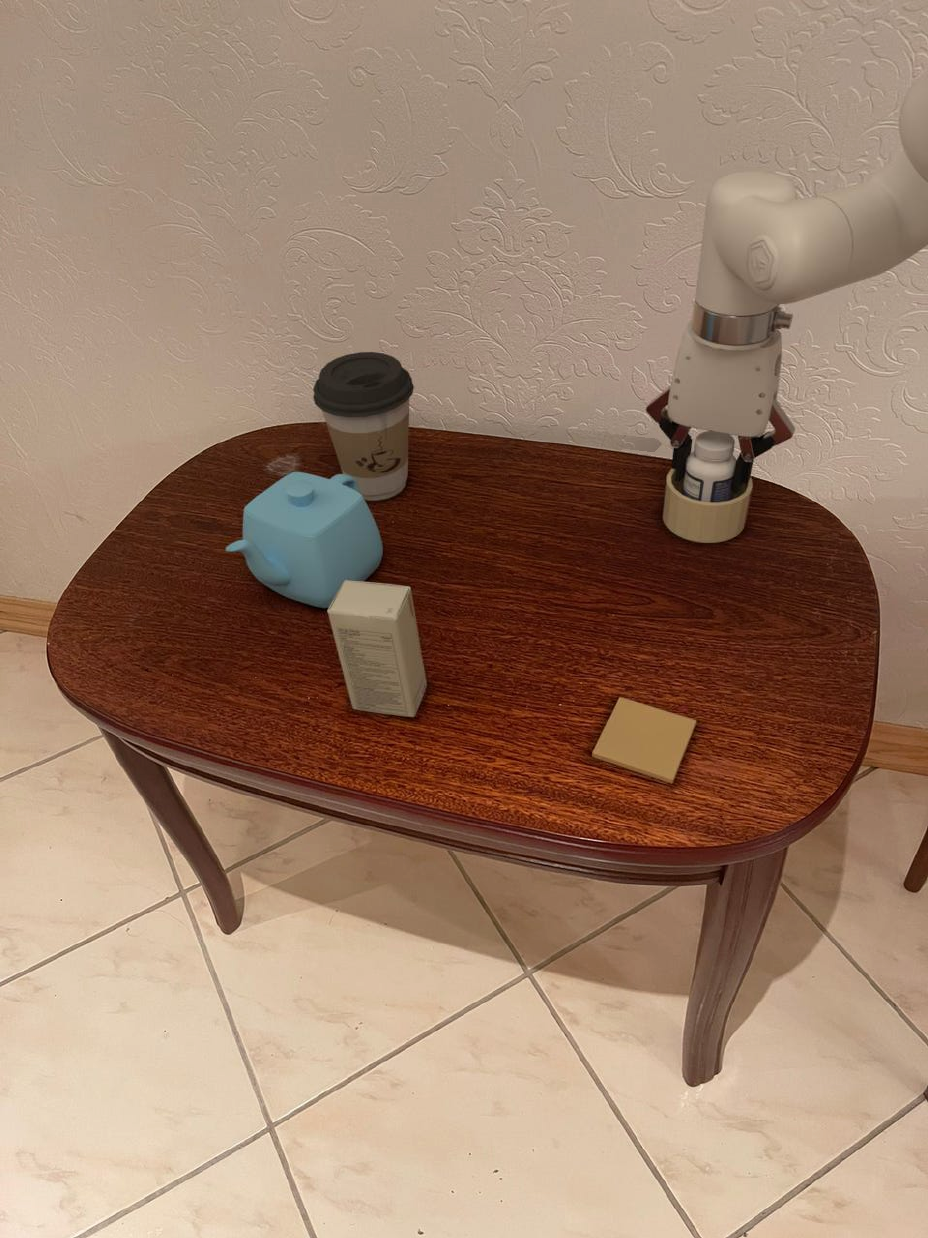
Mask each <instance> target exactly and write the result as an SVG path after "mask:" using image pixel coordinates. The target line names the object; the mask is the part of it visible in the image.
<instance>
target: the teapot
mask: <svg viewBox="0 0 928 1238" xmlns="http://www.w3.org/2000/svg"><path fill="white" fill-rule="evenodd" d="M225 551H226V552H231V553H234V552H235V553H236V552H237V553H240V554H242V555H243V556H244V558H245V561H246V565H247V568H248V570H249V571H250V572H251V573H252V575H253V576H254V578H256V579H257V580H258V581H259V582H260V583H261V584H263V585H264V586H266V587H268V588H269V589H271V590H272V591H274V592H275V593H278V594H279V595H280V596H283V597H285V598H287V599H290V600H293V601H296V602H299V603H302V604H305V605H309V606H312V607H316V608H322V609H328V608H329V607H330V605H331V603H332V601H333V600H334V598H335V596H336V594H337V593H338V591H339V589H340V588H341V586H342V584H343V583H344V581H345V580H348V581H362V582H366V580H367V579H368V578H369V577H370V576H371V575H372V574H373V573H374V572H375V571H376V570H377V569H378V567H379V566H380V564H381V562H382V559H383V558H382V557H383V553H384V552H383V551H384V547H383V541H382V538H381V534H380V531H379V527H378V525H377V522H376V519H375V518H374V515H373V514H372V511H371V509H370V508H369V506H368V503H367V502H366V500H364V498H363V496H362V495H361V494H360V493H358V485H357V482H356V480H355V479H354V478H353V477H351V476H349V475H346V474H343V473H338V474H335V475H333V476H332V477H331V478H327V477H323V476H320V475H317V474H312V473H308V472H302V471H293V472H290V473H288V474H287V475H285V476H283V477H282V478H281V479H279V480H277V481H276V482H275V483H273V484H272V485H271V486H269V487H268V488H267V489H265V490H264V491H263V492H261V493H260V494H259V495H257V496H256V497H255V498H253V499H252V500H251V501H250V502H249V503H248V504H246V505H245V506H244V508H243V516H242V539H239V540H236V541H234V542H231V543H230V544H228V545H227V546H226V547H225Z"/></svg>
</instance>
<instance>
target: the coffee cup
mask: <svg viewBox="0 0 928 1238" xmlns="http://www.w3.org/2000/svg"><path fill="white" fill-rule="evenodd" d="M414 388H415V386H414V384H413V379H412V377H411V374H410V373H409V371H408V370H407V369H406V368H404V367H403V365H402V364H401V361H400V360H398V359H397V358H396V357H394V356H392V355H389V354H386V353H383V352H376V351H359V352H354V353H348V354H345V355H342V356H339V357H336V358H334V359H333V360H331V361H329V362H327V363H326V364H325V365H324V366H322V368H321V369H320V372H319V374H318V379H317V380H315V383H314V386H313V389H312V391H313V402H314V405H315V406H316V407H317V408H319V409H320V411H321V412H322V415H323V418H324V421H325V424H326V427H327V430H328V433H329V437H330V440H331V442H332V446H333V448H334V451H335V454H336V457H337V460H338V464H339V466H340V469H341V472H342V474H346V475H349V476H351V477H353V478H354V479H355V480H356V482H357V485H358V493H360V494H361V495H362V496H363V498H364V500H365V501H370V502H371V501H373V502H374V501H383V500H387V499H390V498H392V497H395V496H397V495H399V494H400V493H401V492H403V491H404V489H405V487H406V484H407V479H408V475H409V473H408V472H409V436H410V435H409V433H410V398H411V396H413V393H414Z"/></svg>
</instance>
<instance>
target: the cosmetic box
mask: <svg viewBox="0 0 928 1238" xmlns="http://www.w3.org/2000/svg"><path fill="white" fill-rule="evenodd" d="M326 612H327V615H328V619H329V623H330V626H331V630H332V634H333V638H334V639H333V640H334V642H335V646H336V650H337V654H338V657H339V662H340V665H341V670H342V673H343V677H344V680H345V686H346V689H347V693H348V697H349V700H350V705H351V708H352V709H353V710H357V711H361V712H369V713H375V714H376V713H377V714H384V715H391V716H399V717H408V718H415V717H416V714H417V713H418V710H419V708H420V704H421V703H422V700H423V698H424V695H425V692H426V689H427V686H428V683H427V678H426V671H425V666H424V660H423V653H422V647H421V641H420V636H419V629H418V622H417V618H416V611H415V607H414V601H413V595H412V587H410V586H407V585H400V584H392V583H381V582H373V581H372V582H371V581H364V582H362V581H348V580H345V581H344V583H343V584H342V586H341V588H340V589H339V591H338V593H337V594H336V596H335V598H334V600H333V601H332V603H331V605H330V607H329V608H327V611H326Z"/></svg>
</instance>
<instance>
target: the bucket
mask: <svg viewBox="0 0 928 1238" xmlns="http://www.w3.org/2000/svg"><path fill="white" fill-rule="evenodd" d="M675 473H676V469H672V468H671V469H669V471H668V473H667V475H666V479H665V489H664V497H663V505H662V506H663V507H662V521H663V523H664V525H665V526H666V528H667V529H668V530H669V531H670V532H671V533H673V534H674V535H676V536H678V537H680V538H682V539H684V540H688V541H689V542H690V541H691V542H696V543H702V544H714V543H722V542H726V541H729V540H731V539H733V538H735V537H737V536H738V535H740V534H741V533H742V532H743V530H744V528H745V526H746V523H747V519H748V514H749V509H750V504H751V499H752V494H753V488H754V485H753V484H754V483H753V479H752V477H751V476H750V480H749V482H748V484H744V483H742V485H741V488H740V490H739V492H738V494H736V493H733V498H732V500H730V501H725V502H719V503H713V502H702V501H697V500H693V499H691V498H688V497H686V496H684V495H682V491H683V483H684V478H683V479H682V481H680V482H679V481H675Z"/></svg>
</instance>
